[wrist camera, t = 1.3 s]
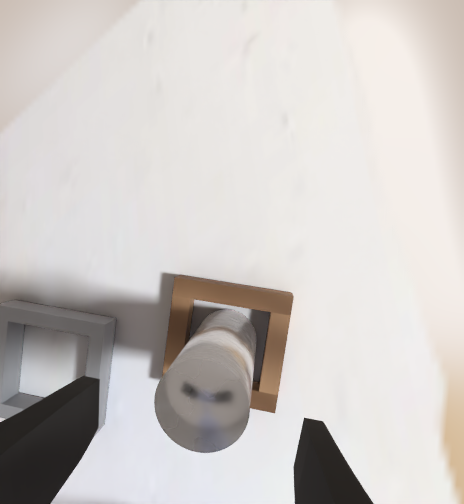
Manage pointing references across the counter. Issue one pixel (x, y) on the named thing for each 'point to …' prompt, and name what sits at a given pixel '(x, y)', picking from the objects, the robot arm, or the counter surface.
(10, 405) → the frame
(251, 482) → the counter surface
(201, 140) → the counter surface
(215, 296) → the socket frame
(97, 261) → the counter surface
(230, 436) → the grey thick round cylinder
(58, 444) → the robot arm
